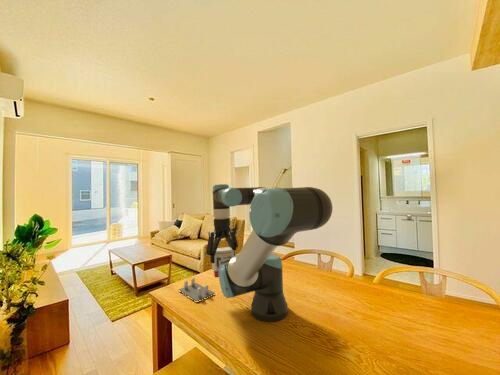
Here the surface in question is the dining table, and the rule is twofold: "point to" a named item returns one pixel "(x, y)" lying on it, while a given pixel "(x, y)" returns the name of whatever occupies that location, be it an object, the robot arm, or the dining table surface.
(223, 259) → the ink box
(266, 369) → the dining table surface
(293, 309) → the dining table surface
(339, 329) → the dining table surface
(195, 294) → the pin tray
